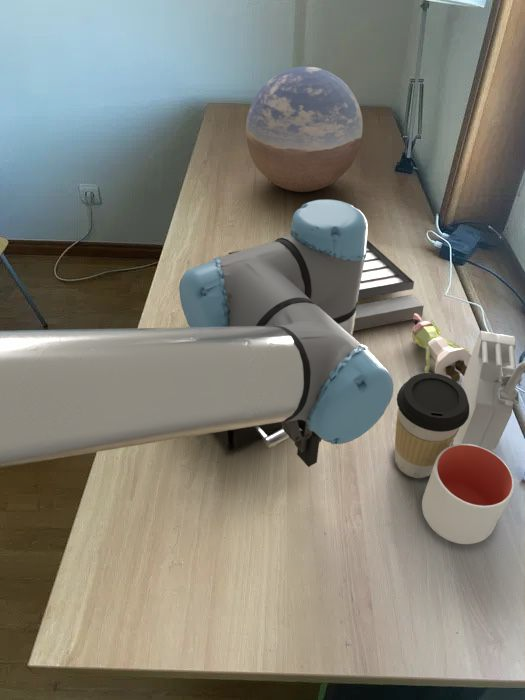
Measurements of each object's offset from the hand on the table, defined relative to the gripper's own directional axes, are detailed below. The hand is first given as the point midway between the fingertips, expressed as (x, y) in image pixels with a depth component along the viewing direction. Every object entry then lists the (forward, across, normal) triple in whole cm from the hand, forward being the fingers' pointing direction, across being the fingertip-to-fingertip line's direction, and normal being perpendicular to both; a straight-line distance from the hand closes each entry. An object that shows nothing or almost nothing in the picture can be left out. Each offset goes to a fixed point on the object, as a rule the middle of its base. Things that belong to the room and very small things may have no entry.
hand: (306, 458), depth 81 cm
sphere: (+5, -58, -77) cm, 96 cm away
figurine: (+5, -36, -7) cm, 37 cm away
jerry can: (+5, -26, +9) cm, 28 cm away
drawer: (+4, 0, -15) cm, 16 cm away
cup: (+5, -14, +17) cm, 23 cm away
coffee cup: (+5, -16, +7) cm, 18 cm away
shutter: (+5, -33, -37) cm, 50 cm away
